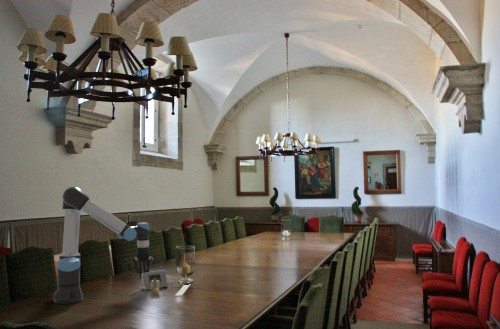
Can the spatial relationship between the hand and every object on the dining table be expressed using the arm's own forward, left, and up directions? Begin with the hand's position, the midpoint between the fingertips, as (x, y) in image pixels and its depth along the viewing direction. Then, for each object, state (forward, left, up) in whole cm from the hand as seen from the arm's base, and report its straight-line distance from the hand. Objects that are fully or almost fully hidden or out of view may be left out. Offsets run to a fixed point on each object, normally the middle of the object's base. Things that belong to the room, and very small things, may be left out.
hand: (143, 284), depth 260 cm
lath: (+27, -4, -3) cm, 27 cm away
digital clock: (+8, -1, -3) cm, 9 cm away
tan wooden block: (+12, -17, -3) cm, 21 cm away
